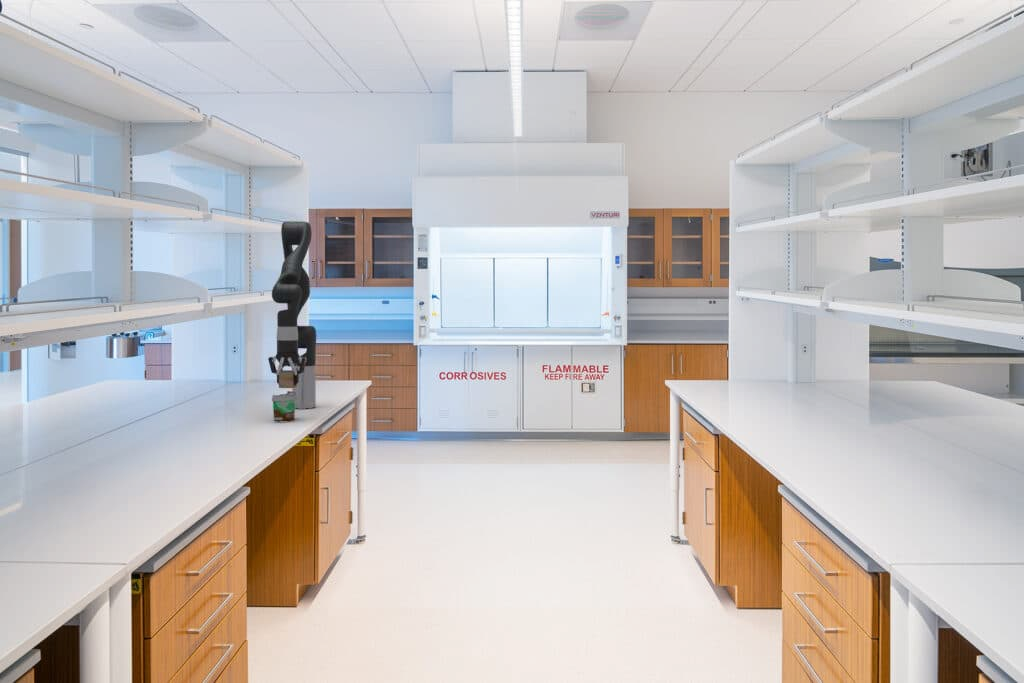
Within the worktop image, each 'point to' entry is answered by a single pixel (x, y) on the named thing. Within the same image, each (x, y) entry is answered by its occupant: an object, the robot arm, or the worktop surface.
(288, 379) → the walnut block
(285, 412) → the food container
